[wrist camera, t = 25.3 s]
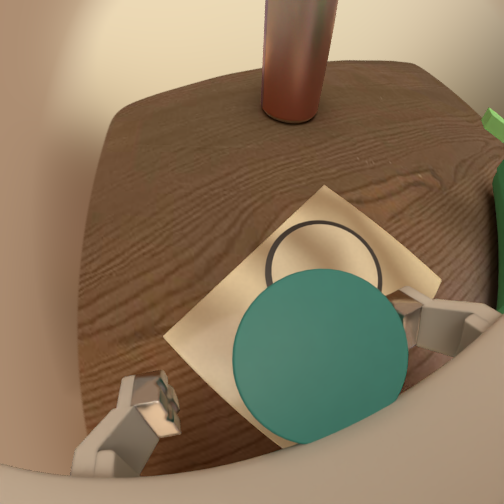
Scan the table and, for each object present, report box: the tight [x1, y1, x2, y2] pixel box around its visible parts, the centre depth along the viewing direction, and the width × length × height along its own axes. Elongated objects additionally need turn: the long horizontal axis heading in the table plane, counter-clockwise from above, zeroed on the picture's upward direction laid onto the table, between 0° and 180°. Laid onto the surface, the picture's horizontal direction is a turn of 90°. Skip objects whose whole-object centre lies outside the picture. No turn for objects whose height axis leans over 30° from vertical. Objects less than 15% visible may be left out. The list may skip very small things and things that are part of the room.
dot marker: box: [232, 269, 408, 444], centre depth 10 cm, size 4×4×11 cm
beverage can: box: [261, 0, 338, 123], centre depth 20 cm, size 6×6×15 cm
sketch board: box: [163, 185, 442, 449], centre depth 17 cm, size 16×12×1 cm
